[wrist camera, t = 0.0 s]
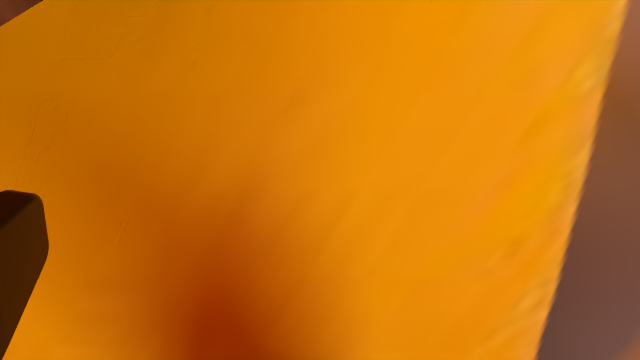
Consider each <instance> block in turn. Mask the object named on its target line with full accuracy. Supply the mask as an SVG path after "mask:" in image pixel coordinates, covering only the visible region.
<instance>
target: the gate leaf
mask: <svg viewBox="0 0 640 360" xmlns="http://www.w3.org/2000/svg"><path fill="white" fill-rule="evenodd" d="M41 1H43V0H0V26H2V25H3V24H5V23H7V22H8V21H10V20H12V19H13V18H15V17H16V16H18V15H20V14H21V13H23V12H25V11H26V10H28V9H30V8H31V7H33V6H34V5H36V4H38V3H39V2H41Z"/></svg>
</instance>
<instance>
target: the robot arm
mask: <svg viewBox="0 0 640 360" xmlns="http://www.w3.org/2000/svg"><path fill="white" fill-rule="evenodd" d="M48 249H49V242H48V234H47V228H46V221H45V214H44V207H43V203H42V200H41V198H40V197H39V196H38V195H36V194H34V193H27V192H20V191H14V190H5V191H2V192H0V360H2V359H3V356H4V354H5V352H6V350H7V348H8V346H9V344H10V341H11V339H12V337H13V335H14V332H15V330H16V328H17V325H18V323H19V321H20V319H21V316H22V314H23V312H24V309H25V307H26V305H27V303H28V300H29V298H30V296H31V294H32V291H33V289H34V287H35V284H36V282H37V280H38V278H39V275H40V273H41V271H42V269H43V266H44V264H45V262H46V259H47V255H48Z"/></svg>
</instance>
